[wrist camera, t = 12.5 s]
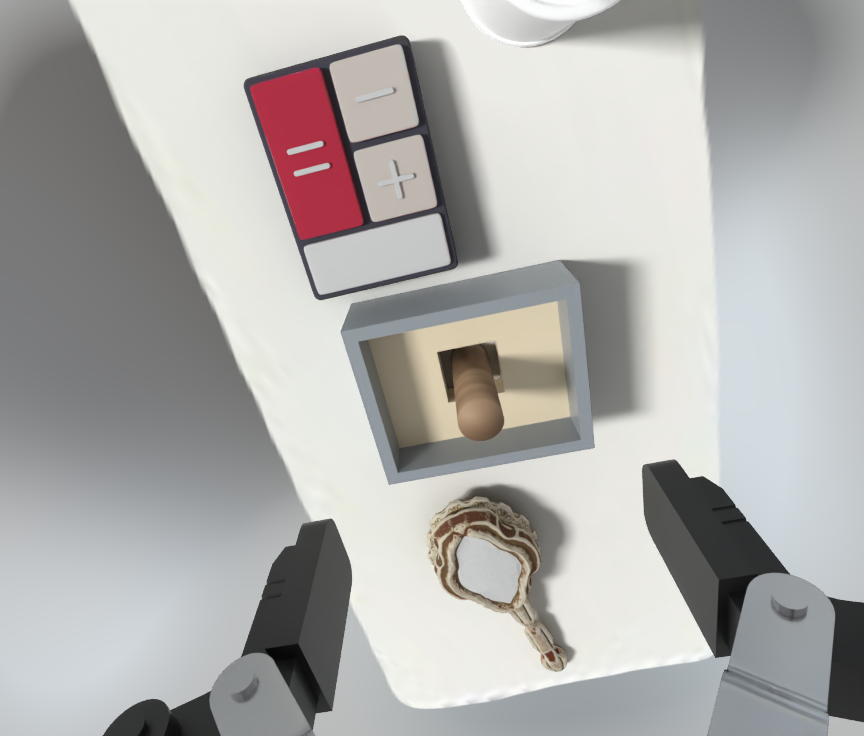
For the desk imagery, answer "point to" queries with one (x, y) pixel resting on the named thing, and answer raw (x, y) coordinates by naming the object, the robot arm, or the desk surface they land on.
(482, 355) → the peg
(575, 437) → the grey open box
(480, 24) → the white cylindrical bottle
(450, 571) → the hand mirror
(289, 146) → the calculator
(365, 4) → the desk surface
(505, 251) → the desk surface
